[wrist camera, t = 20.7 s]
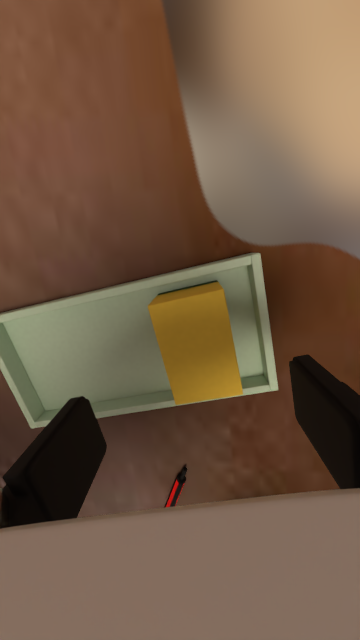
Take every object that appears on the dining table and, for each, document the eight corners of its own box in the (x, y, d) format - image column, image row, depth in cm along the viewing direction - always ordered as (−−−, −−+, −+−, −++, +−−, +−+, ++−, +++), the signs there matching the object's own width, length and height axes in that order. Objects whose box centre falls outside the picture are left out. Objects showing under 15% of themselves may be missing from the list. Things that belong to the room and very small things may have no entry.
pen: (189, 466, 22) (189, 476, 21) (146, 573, 28) (144, 586, 27) (181, 463, 22) (180, 474, 21) (139, 572, 28) (137, 584, 27)
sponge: (179, 374, 19) (175, 405, 15) (158, 293, 17) (146, 305, 13) (233, 364, 18) (243, 395, 14) (217, 279, 16) (223, 288, 12)
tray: (46, 412, 22) (30, 428, 20) (-2, 313, 19) (-25, 320, 17) (269, 375, 19) (278, 390, 17) (252, 252, 16) (260, 252, 14)
